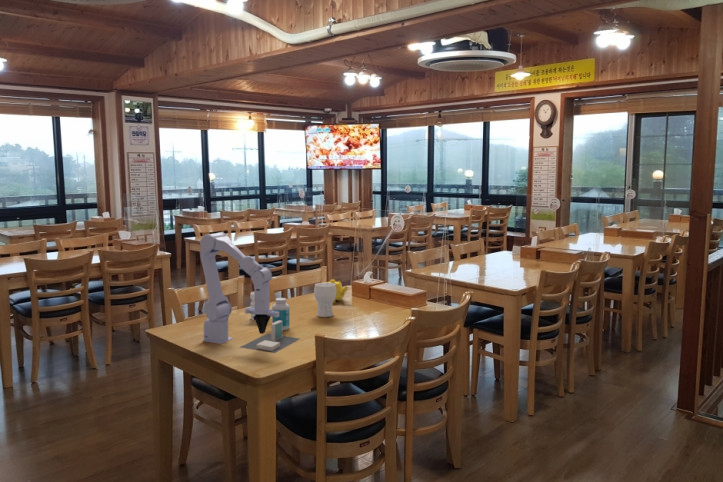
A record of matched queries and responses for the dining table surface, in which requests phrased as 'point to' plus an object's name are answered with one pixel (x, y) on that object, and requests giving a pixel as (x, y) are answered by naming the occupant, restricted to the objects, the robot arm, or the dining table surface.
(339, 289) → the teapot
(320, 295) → the cup
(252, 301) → the vase
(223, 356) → the dining table surface
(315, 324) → the dining table surface
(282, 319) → the pill bottle
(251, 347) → the mat
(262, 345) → the tile
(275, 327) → the tile
